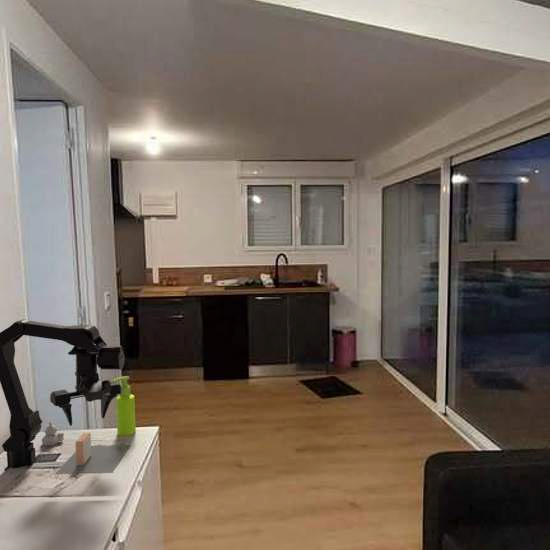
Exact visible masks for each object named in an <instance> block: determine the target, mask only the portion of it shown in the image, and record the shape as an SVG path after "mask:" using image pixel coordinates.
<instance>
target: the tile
mask: <svg viewBox="0 0 550 550" xmlns="http://www.w3.org/2000/svg"><path fill="white" fill-rule="evenodd" d="M91 439H92V434H91V433H90V432H84V433H82V434H81V436H80V437H78V438H77V439H76V440H75V452H76V464H77V465H84V464H85V463H86V461H87V460H88V459H89V458H90V457H91V446H92V440H91Z"/></svg>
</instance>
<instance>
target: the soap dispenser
mask: <svg viewBox="0 0 550 550" xmlns="http://www.w3.org/2000/svg"><path fill="white" fill-rule="evenodd" d="M129 379H130V376H128V375H124V376H119V377H115V378H113V379H112V381H115V382H116V383H118V382H120V381H121V388H122V393H121V394H119V395H117V397H115V399H116V404H115V405H116V427H117V432H116V433H117V435H118V436H121V437H128V436H131V435H134V434H135V433H136V432H137V430H136V428H137V427H136V426H137V425H136V404H135V403H136V402H135V401H136V400H135V398H136V397H135V395H134V394H131V385H129V383H128V380H129Z"/></svg>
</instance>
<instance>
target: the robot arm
mask: <svg viewBox="0 0 550 550" xmlns="http://www.w3.org/2000/svg"><path fill="white" fill-rule="evenodd" d="M23 336H28V337H34V338H41V339H43V338H44V339H49V340H55V341H62V342H65V343H67V344H68V345H70V346H73V347H72V349H71V350H69V351H68V352H67V354H68V355H69V356H71V355H72V356H75V371H74V375H75V385H74V389H75V390H74V391H70V392H69V391H68V390H67V389H61V390H54V391H52V392H51V393H50V395H49V401H50V403H52V405H54V406H55V407H58V408H60V409H62V411H63V413H64V415H65V418H66V420H67V422H68V424H69V426H70V427H72V426H73V415H72V406H73V404H72V403H71V400H73V399H78V398H79V399H80V398H83V397H84V398H85V401H86V402H89V403H90V402H94V401H97V400H99V401H100V416H101V419H105V417H106V414H107V411H108V408H109V406H110V403H111V401H113V399H116V397H118V395H120V394H121V393H122V388H121V386H122V384H119V383H118V382H115V381H110V379H106V380H100V373H99V372H98V368H99V369H101V370H105V371H106V370H111V371H112V370H115V371H116V370H118V371H119V370H121V371H122V370H123V368H124V366H125V362H126V361H125V360H126V359H125V357H126V356H125V352H124V350H123V346H122V345H115V346H113V345H110V346H108V344H107V343H106V341H105V340H104V339H103V338H102V336H101V335H100V330H99V329H98V328H97V326H95V325H93V324H79V325H78V324H77V325H60V324H56V323H55V324H54V323H47V322H41V321H33V320H28V319H20V320H16V321H15V322H13V323H12V324H11V325H10V326H8V327H7V328H5V329H3V330H2V331H0V385H1V388H2V392H3V395H4V399H5V401H6V404H7V407H8V410H9V414H10V419H9V434H10V436H9V437H8V438H7V439H6V440H5V441H4V442H3V443H2V444H1V447H2V449H3V451H4V452H5V453H6V461H7V462H6V463H7V466H6V467H5V468H4V469H3V470H4V471H5V472H6V471H7V470H9V469H10V468H13V469H17V468H18V469H19V468H24V467H29V466H32V465H33V464H34V463H35V462H36V461H37V457H36V455H37V454H36V448H35V447H34V442H32V441H34V440H35V439H36V436H37V435H38V434H39V433H40V431H41V429H42V423H43V420H42V419H41V416H40V411H39V410H38V409H36V410H35V411H33V410H32V409H31V407H29V404H28V400H27V398H26V395H25V392H24V389H23V386H22V382H21V379H20V377H19V374H18V370H17V368H16V364H15V356H16V347H15V346H16V345H15V343H16V342H17V341H19V340H20V339H21V338H23Z"/></svg>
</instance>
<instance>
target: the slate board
mask: <svg viewBox="0 0 550 550" xmlns="http://www.w3.org/2000/svg"><path fill="white" fill-rule="evenodd" d="M131 446H132V444H125V445H124V444H121V445H120V444H119V445H91V457H90V458H89V459H88V460H87V461H86V463H85V464H84V465H77V464H76V451H74V453H72V455H71V456H70V457H69V458H68V459H67V460H66V462H65V463H63V465H61V466H60V467H59V469H58V470H56V472H55V473H54V475H68V474H69V475H71V474H72V475H73V474H74V475H75V474H107V473H108V474H112V473H114V471H115V470H116V468H118V466H119V464H120V463H121V461H122V460H123V458H124V457H125V455H126V454H127V452H128V451H129V449H130V448H131Z"/></svg>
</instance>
